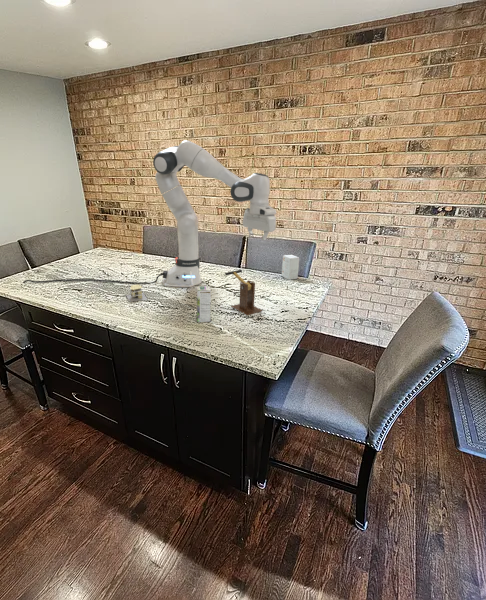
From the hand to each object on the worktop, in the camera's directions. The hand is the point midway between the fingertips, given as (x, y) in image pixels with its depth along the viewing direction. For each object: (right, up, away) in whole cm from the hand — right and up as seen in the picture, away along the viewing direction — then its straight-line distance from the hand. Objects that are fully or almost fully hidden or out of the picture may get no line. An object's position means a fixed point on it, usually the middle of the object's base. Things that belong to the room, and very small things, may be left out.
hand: (257, 238), depth 165 cm
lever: (-10, -22, -11) cm, 26 cm away
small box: (+25, -17, +37) cm, 48 cm away
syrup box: (-26, -39, -19) cm, 50 cm away
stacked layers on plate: (-61, -29, +7) cm, 68 cm away
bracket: (-7, -35, -10) cm, 37 cm away
